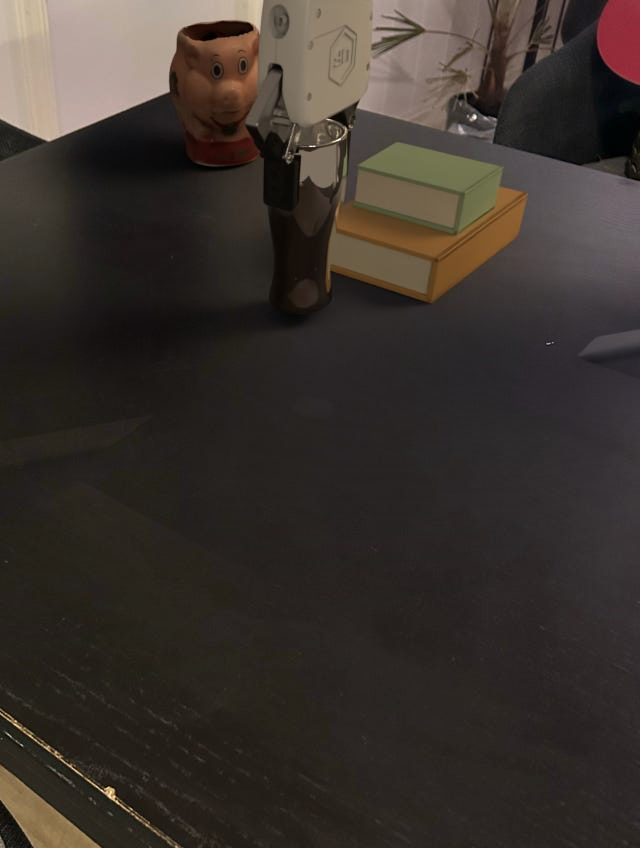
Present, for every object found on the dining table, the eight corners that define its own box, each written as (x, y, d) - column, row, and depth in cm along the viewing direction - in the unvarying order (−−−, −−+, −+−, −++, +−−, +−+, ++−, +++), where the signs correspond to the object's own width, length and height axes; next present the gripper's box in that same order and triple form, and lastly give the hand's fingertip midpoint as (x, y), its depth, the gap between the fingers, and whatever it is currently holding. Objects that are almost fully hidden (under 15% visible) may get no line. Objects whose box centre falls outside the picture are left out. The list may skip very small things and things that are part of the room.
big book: (517, 236, 97) (528, 193, 94) (431, 303, 88) (439, 258, 85) (403, 205, 104) (409, 163, 100) (312, 265, 95) (315, 221, 92)
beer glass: (250, 294, 89) (252, 128, 78) (310, 274, 91) (319, 110, 80) (289, 324, 85) (296, 153, 74) (351, 303, 87) (367, 133, 76)
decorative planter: (155, 131, 123) (149, 10, 113) (241, 119, 125) (243, -2, 114) (192, 187, 110) (189, 55, 100) (288, 173, 111) (295, 42, 101)
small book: (494, 208, 92) (503, 166, 89) (457, 235, 88) (465, 192, 85) (391, 181, 97) (397, 141, 94) (352, 205, 94) (357, 165, 91)
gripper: (290, -24, 61) (281, 238, 75) (424, -78, 70) (395, 167, 83) (205, -35, 65) (211, 217, 78) (341, -85, 73) (326, 151, 86)
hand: (305, 189), depth 80 cm, fingers closed on beer glass, 7 cm apart
